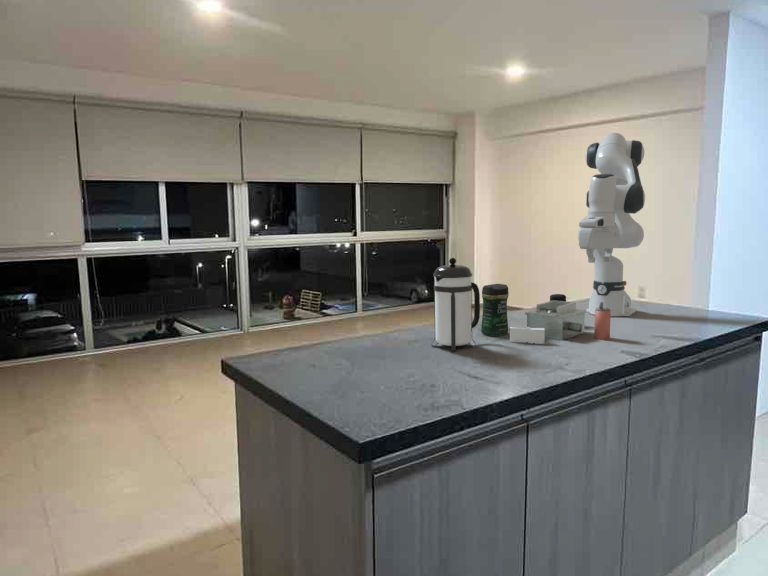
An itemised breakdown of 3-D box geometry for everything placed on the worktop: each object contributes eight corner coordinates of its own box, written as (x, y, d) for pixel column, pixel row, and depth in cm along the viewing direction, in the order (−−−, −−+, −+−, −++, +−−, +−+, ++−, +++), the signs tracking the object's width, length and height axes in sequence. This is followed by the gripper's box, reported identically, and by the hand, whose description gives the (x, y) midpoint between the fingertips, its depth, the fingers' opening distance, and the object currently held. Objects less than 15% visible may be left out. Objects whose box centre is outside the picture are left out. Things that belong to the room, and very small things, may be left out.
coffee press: (478, 352, 175) (478, 259, 170) (428, 351, 178) (427, 260, 174) (479, 340, 191) (479, 255, 187) (434, 339, 195) (433, 255, 191)
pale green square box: (549, 326, 210) (549, 299, 208) (595, 333, 197) (596, 304, 195) (525, 334, 198) (525, 305, 197) (572, 341, 185) (573, 311, 184)
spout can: (598, 336, 193) (599, 300, 191) (612, 338, 189) (613, 301, 187) (591, 338, 189) (592, 302, 188) (605, 340, 186) (606, 303, 184)
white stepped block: (500, 342, 189) (500, 326, 188) (520, 337, 196) (521, 322, 195) (535, 350, 177) (535, 333, 176) (556, 344, 184) (557, 328, 183)
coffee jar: (493, 337, 194) (493, 286, 192) (477, 334, 201) (477, 284, 198) (512, 333, 200) (512, 283, 197) (496, 330, 206) (496, 281, 204)
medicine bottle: (569, 326, 210) (570, 295, 208) (550, 326, 210) (551, 296, 208) (563, 322, 217) (564, 292, 215) (545, 323, 217) (546, 293, 215)
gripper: (608, 222, 195) (606, 260, 196) (576, 221, 182) (574, 262, 184) (625, 221, 190) (623, 261, 191) (593, 221, 177) (591, 263, 179)
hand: (599, 262), depth 187 cm, fingers open, 8 cm apart
